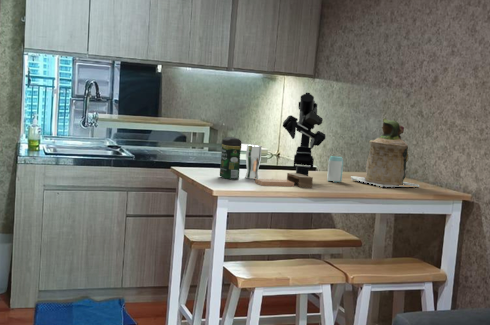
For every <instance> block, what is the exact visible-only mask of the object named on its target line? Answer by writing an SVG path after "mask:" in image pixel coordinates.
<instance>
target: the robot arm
mask: <svg viewBox="0 0 490 325" xmlns="http://www.w3.org/2000/svg"><path fill="white" fill-rule="evenodd" d="M297 106H298V110H299V115H298V117H299V118H296V117H295V116H293V115H288V116H287V117H286V118H285V120H284V121H283V122H282V127H283V128H284V129H285V130H286V131H287V133H288V134H289V135H290V137H291V139H293V140H294V139H295V138H296V132H298V133H300V134H301V139H300V145H299V146H297V148H296V151H295V152H296V153H295V154H294V157H293V158H294V159H293V168H295V173H300V174H303V175H306V176H309V169H310V170H313V169H314V157H313V155H312V149H313V148H314V147H315V146H317V147H318V146H320V145H321V144H322V143H323V142H324V140H326V139H327V138H326V133H323V132H321V131H320V130H317V131H316V132H313V131H312V130H313V129H314V128H315V126H316V125H317V126H321V125H322V124H323V121H324V118H322V117H321V116H320V115H318V103H317V102H316V101H315V97H314V95H312V94H311V92H305V93H303V94H301V96H300V100H299V101H298V105H297Z"/></svg>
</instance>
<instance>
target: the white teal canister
mask: <svg viewBox="0 0 490 325" xmlns="http://www.w3.org/2000/svg"><path fill="white" fill-rule="evenodd" d="M327 164H328V165H327V176H326V180H327V181H328V182H329V181H334V182H333V183H337V182H339V183H342V181H343V170H344V159H343V157H342V156H337V155H336V156H335V155H331V156H330V157H329V159H328V163H327Z"/></svg>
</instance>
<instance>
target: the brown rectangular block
mask: <svg viewBox="0 0 490 325" xmlns="http://www.w3.org/2000/svg"><path fill="white" fill-rule="evenodd" d="M286 174H287V176H286V180H289V181H291V182H294V184H298V188H313V180H314V179H313V176H309V175H308V176H306V175H303V174H300V173H296V172H287V173H286Z"/></svg>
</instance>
